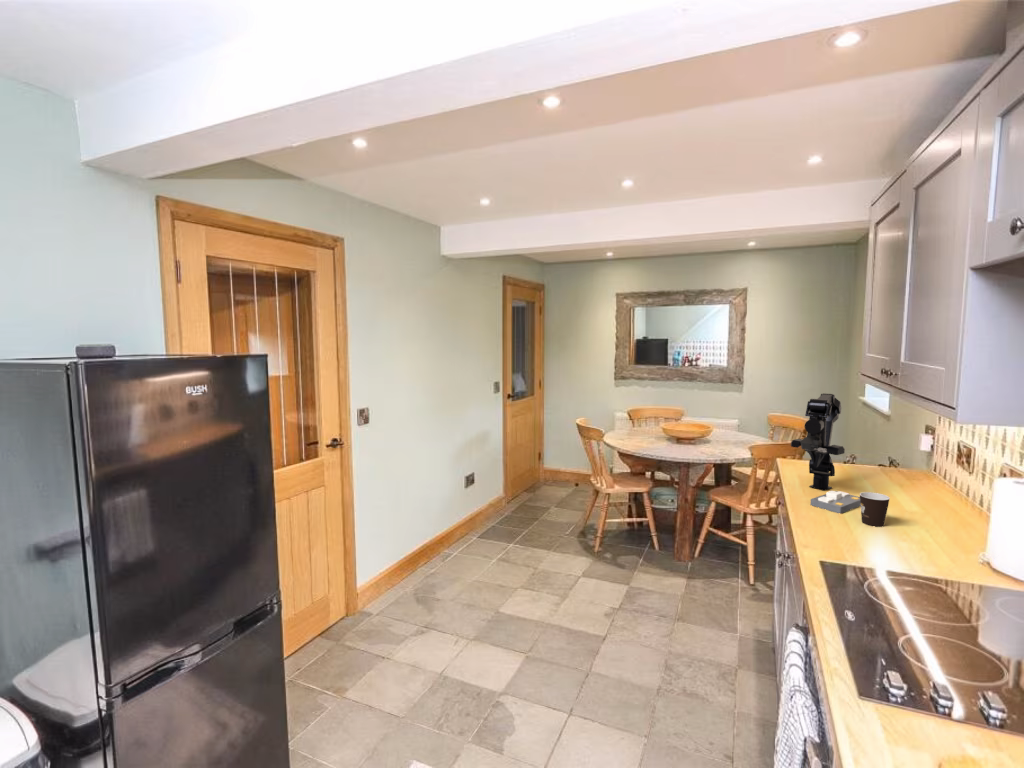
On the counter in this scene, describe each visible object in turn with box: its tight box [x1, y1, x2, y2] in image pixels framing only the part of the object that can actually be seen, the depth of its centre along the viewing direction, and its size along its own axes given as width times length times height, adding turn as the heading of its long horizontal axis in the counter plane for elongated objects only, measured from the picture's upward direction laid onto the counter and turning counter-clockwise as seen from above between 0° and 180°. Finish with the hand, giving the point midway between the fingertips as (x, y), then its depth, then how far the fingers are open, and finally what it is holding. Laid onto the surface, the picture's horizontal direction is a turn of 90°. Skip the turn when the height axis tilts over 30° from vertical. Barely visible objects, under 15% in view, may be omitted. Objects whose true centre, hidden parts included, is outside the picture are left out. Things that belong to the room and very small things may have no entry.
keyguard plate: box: [810, 490, 861, 515], centre depth 199 cm, size 18×11×3 cm, turn 121°
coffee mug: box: [859, 491, 891, 528], centre depth 181 cm, size 12×9×10 cm
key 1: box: [818, 496, 834, 503], centre depth 197 cm, size 4×4×3 cm
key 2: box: [837, 490, 850, 497], centre depth 203 cm, size 4×4×3 cm
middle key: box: [825, 490, 842, 500], centre depth 200 cm, size 4×4×3 cm
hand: (815, 467), depth 209 cm, fingers closed
